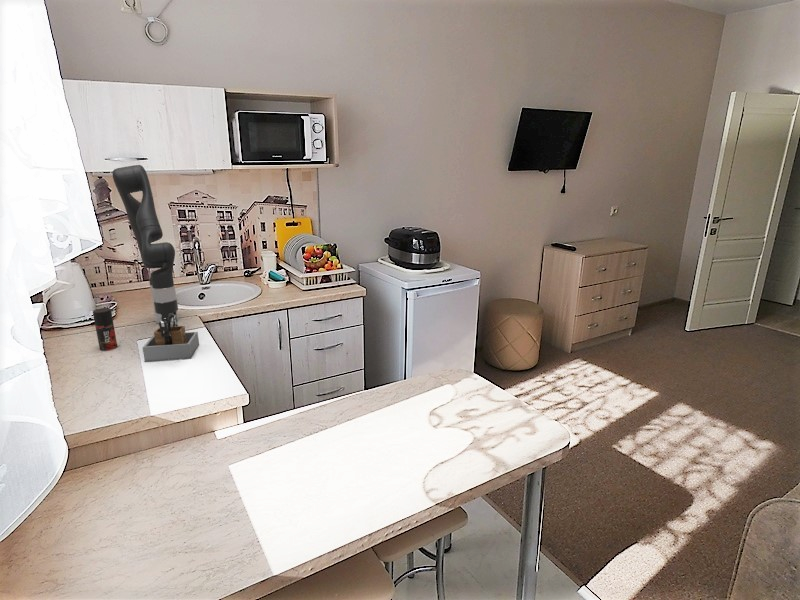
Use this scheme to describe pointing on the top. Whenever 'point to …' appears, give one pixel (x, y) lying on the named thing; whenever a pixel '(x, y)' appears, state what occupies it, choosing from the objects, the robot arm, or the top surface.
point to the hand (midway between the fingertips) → (171, 342)
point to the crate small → (172, 336)
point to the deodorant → (105, 329)
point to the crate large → (171, 349)
